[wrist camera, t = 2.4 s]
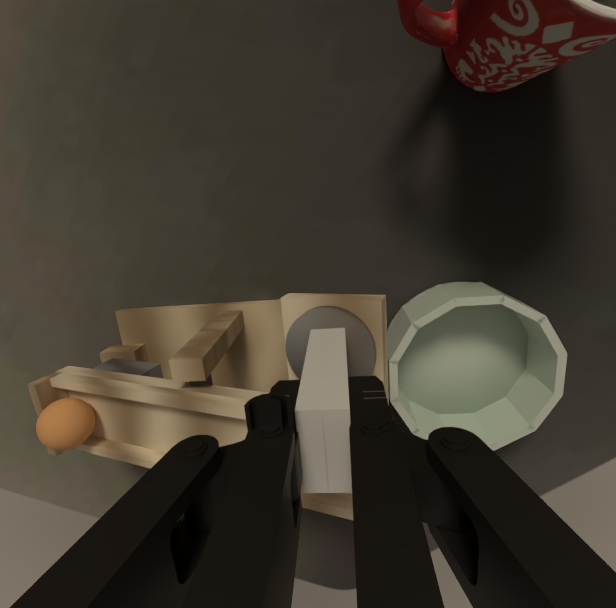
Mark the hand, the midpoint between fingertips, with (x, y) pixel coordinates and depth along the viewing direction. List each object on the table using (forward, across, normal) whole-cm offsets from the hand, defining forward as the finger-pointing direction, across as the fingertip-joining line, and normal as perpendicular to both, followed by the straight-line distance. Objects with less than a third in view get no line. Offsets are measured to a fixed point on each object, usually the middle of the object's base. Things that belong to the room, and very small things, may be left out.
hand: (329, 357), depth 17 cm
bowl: (+15, +10, -7) cm, 19 cm away
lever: (+8, -8, -4) cm, 12 cm away
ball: (+6, -19, -7) cm, 21 cm away
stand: (+15, -11, -7) cm, 20 cm away
